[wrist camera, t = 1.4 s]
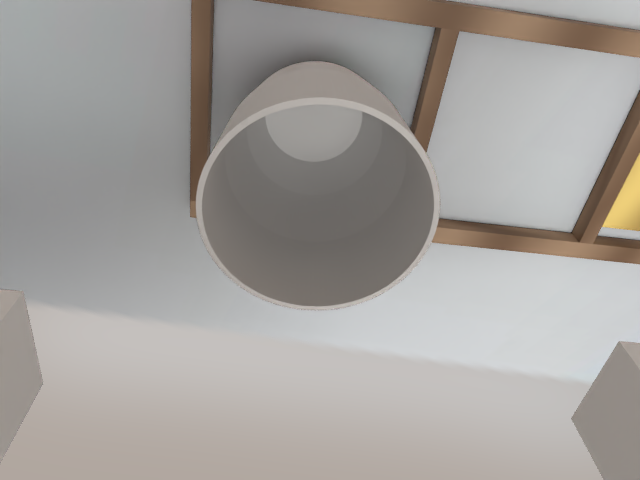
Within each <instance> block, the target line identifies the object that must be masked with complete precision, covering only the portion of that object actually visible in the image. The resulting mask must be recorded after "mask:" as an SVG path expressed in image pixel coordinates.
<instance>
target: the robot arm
mask: <svg viewBox="0 0 640 480" xmlns="http://www.w3.org/2000/svg"><path fill="white" fill-rule="evenodd" d="M42 385H43V380H42V375H41V371H40V366H39V362H38V357H37V352H36V348H35V343H34V339H33V334H32V329H31V325H30V320H29V316H28V311H27V306H26V302H25V297H24V293H23V291H16V290H4V289H0V463H1V461H2V459H3V457H4V455H5V453H6V452H7V450H8V448H9V446H10V444H11V442H12V440H13V439H14V437H15V435H16V433H17V431H18V429H19V427H20V425H21V424H22V422H23V420H24V418H25V416H26V414H27V412H28V411H29V409H30V407H31V405H32V403H33V401H34V399H35V397H36V396H37V394H38V392H39V390H40V388H41V386H42ZM571 419H572V421H573V423H574V425H575V426H576V428H577V430H578V432H579V434H580V436H581V438H582V440H583V442H584V443H585V445H586V447H587V449H588V451H589V453H590V455H591V457H592V459H593V461H594V462H595V464H596V466H597V468H598V470H599V472H600V474H601V476H602V478H603V479H604V480H640V343H634V342H622V341H619V342H618V344H617V345H616V347H615V348H614V350H613V352H612V353H611V355H610V357H609V358H608V360H607V361H606V363H605V365H604V366H603V368H602V369H601V371H600V373H599V374H598V376H597V378H596V379H595V381H594V382H593V384H592V386H591V387H590V389H589V391H588V392H587V394H586V396H585V397H584V399H583V400H582V402H581V403H580V405H579V407H578V408H577V410H576V412H575V413H574V415H573V416H572V418H571Z"/></svg>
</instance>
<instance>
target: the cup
mask: <svg viewBox="0 0 640 480" xmlns="http://www.w3.org/2000/svg"><path fill="white" fill-rule="evenodd" d="M439 213H440V192H439V185H438V181H437V177H436V174H435V171H434V168H433V166H432V163H431V161H430V159H429V157H428V156H427V154H426V152H425V151H424V149H423V148H422V146H421V145H420V143H419V142H418V140H417V139H416V137H415V136H414V134H413V133H412V131H411V130H410V128H409V127H408V126H407V124H406V123H405V121H404V120H403V118H402V117H401V115H400V114H399V112H398V111H397V109H396V108H395V107H394V105H393V104H392V103H391V102H390V101H389V99H388V98H387V97H386V96H385V95H384V94H382V93H381V92H380V91H379V90H378V89H376V88H375V87H374V86H372V85H371V84H370V83H368V82H367V81H366V80H364V79H363V78H362V77H360V76H359V75H357V74H356V73H354V72H353V71H351V70H349V69H347V68H345V67H343V66H340V65H337V64H334V63H329V62H323V61H307V62H300V63H296V64H292V65H289V66H287V67H284V68H282V69H280V70H278V71H277V72H275V73H274V74H272V75H271V76H269V77H268V78H267V79H266V80H265V81H264V82H262V83H261V84H260V85H259V86H258V87H257V88H256V89H255V90H253V91H252V92H251V93H250V94H249V95H248V96H247V97H246V98H245V99H244V100H243V101H242V102H241V103H240V105H239V106H238V107H237V108H236V110H235V111H234V113H233V115H232V116H231V118H230V120H229V122H228V123H227V125H226V127H225V129H224V131H223V132H222V134H221V136H220V138H219V140H218V142H217V143H216V145H215V147H214V149H213V151H212V152H211V154H210V156H209V158H208V160H207V162H206V164H205V166H204V168H203V170H202V173H201V176H200V179H199V183H198V188H197V194H196V217H197V223H198V227H199V231H200V234H201V237H202V240H203V242H204V245H205V247H206V249H207V251H208V252H209V254H210V256H211V257H212V259H213V260H214V262H215V263H216V264H217V266H218V267H219V268H220V269H221V270H222V271H223V272H224V273H225V275H227V276H228V277H229V278H230V279H231V280H232V281H233V282H234V283H236V284H237V285H238V286H240V287H241V288H243V289H244V290H246V291H247V292H249V293H251V294H253V295H254V296H256V297H258V298H261V299H263V300H265V301H268V302H271V303H273V304H277V305H280V306H284V307H288V308H294V309H301V310H332V309H339V308H344V307H349V306H353V305H356V304H360V303H363V302H365V301H368V300H370V299H373V298H375V297H377V296H379V295H381V294H383V293H384V292H386V291H388V290H389V289H391V288H392V287H394V286H395V285H397V284H398V283H399V282H400V281H402V280H403V279H404V278H405V277H406V276H407V275H408V274H409V273H410V272H411V271H412V270H413V269H414V268H415V267H416V266H417V265H418V263H419V262H420V261H421V259H422V258H423V256H424V255H425V253H426V252H427V250H428V248H429V246H430V244H431V242H432V240H433V237H434V235H435V232H436V228H437V225H438V220H439Z"/></svg>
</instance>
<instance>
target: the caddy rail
mask: <svg viewBox="0 0 640 480" xmlns="http://www.w3.org/2000/svg"><path fill="white" fill-rule="evenodd" d="M255 1H262V2H269V3H275V4H282V5H289V6H295V7H302V8H309V9H316V10H322V11H329V12H336V13H343V14H349V15H356V16H363V17H370V18H376V19H383V20H390V21H396V22H403V23H410V24H417V25H423V26H430V27H436V29H435V33H434V37H433V41H432V45H431V49H430V53H429V57H428V61H427V65H426V69H425V73H424V77H423V81H422V85H421V90H420V94H419V98H418V102H417V106H416V110H415V114H414V118H413V122H412V126H411V131H412V133H413V134H414V136H415V137H416V139H417V140H418V142H419V143H420V145H421V146H422V148H423V149H424V151H425V152H427V148H428V144H429V141H430V137H431V133H432V130H433V126H434V122H435V119H436V115H437V111H438V108H439V104H440V100H441V97H442V93H443V89H444V86H445V82H446V78H447V74H448V71H449V67H450V63H451V60H452V56H453V52H454V49H455V45H456V41H457V38H458V34H459V31H464V32H471V33H477V34H484V35H491V36H497V37H504V38H511V39H518V40H524V41H531V42H538V43H545V44H551V45H558V46H565V47H572V48H578V49H585V50H592V51H598V52H605V53H612V54H619V55H625V56H632V57H639V58H640V30H634V29H627V28H621V27H614V26H608V25H601V24H595V23H588V22H582V21H575V20H569V19H562V18H556V17H549V16H543V15H536V14H530V13H523V12H517V11H510V10H504V9H498V8H491V7H485V6H478V5H472V4H465V3H459V2H452V1H446V0H255ZM213 22H214V0H192V4H191V161H190V217H193V218H197V217H196V194H197V188H198V183H199V179H200V176H201V173H202V170H203V168H204V166H205V164H206V162H207V160H208V158H209V156H210V129H211V93H212V58H213ZM601 227H609V228H618V229H627V230H636V231H640V92H639V94H638V96H637V98H636V100H635V102H634V104H633V106H632V108H631V110H630V112H629V115H628V117H627V119H626V121H625V123H624V125H623V127H622V129H621V131H620V133H619V135H618V138H617V140H616V142H615V144H614V146H613V148H612V150H611V152H610V154H609V156H608V158H607V160H606V163H605V165H604V167H603V169H602V171H601V173H600V175H599V177H598V179H597V181H596V183H595V186H594V188H593V190H592V192H591V194H590V196H589V198H588V200H587V202H586V204H585V206H584V209H583V211H582V213H581V215H580V217H579V219H578V221H577V223H576V225H575V227H574V229H573V232H572V233H565V232H556V231H547V230H538V229H529V228H520V227H510V226H501V225H492V224H483V223H474V222H465V221H456V220H446V219H439V220H438V225H437V228H436V232H435V235H434V237H433V240H432V243H442V244H451V245H461V246H471V247H480V248H490V249H499V250H509V251H518V252H528V253H538V254H547V255H557V256H566V257H576V258H585V259H595V260H604V261H614V262H624V263H633V264H640V241H638V240H629V239H620V238H611V237H602V236H597V235H598V233H599V231H600V229H601Z"/></svg>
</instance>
